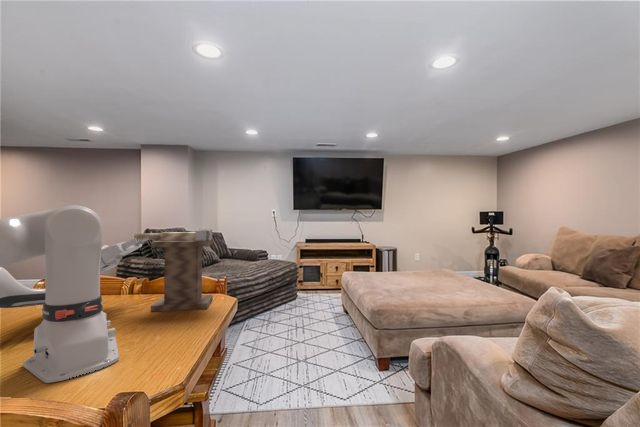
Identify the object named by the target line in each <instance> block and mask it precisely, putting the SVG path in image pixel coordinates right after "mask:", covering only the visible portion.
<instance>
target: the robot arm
mask: <svg viewBox="0 0 640 427" xmlns="http://www.w3.org/2000/svg"><path fill="white" fill-rule="evenodd" d="M102 240H103V222H102V219H101V217H100V215H99V214H98V213H97V212H96V211H94V210H93V209H91V208H89V207H86V206H84V205H76V204H73V205H66V206H61V207H57V208H51V209H46V210H41V211H40V210H39V211H35V212H30V213H25V214H19V215H14V216H7V217H2V218H0V309H12V308H13V309H14V308H25V307H26V308H27V307H34V306H42V309H41V310H42V319H43V320H42V321H41V323H40V324H38V325H37V326H36V327H35V328H34V331H33V332H34V333H33V349H32V350H33V351H32V356H31V357H28V358H26V359H24V361H22V367H23V368H24V369H26V370H27V371H29V373H31V374H33V376H35V377H37V379H38V380H41V381H42V383H43V382H44V383H45V384H50V383H56V382H61V381H65V380H69V378H70V379H73V378H72V377H74V378H76V376H77V377H80V376H79V375H81V376H83V375H82V374H84V375H86V373H87V374H89V372H90V373H93V372H95V370H96V371H98V370H101V369H103V367H104V368H106V367H108V366H110V365H114V364H115V363H116V362H118V361H119V360H120V355H119V350H118V344H117V339H116V328H115V327H112V328H108V327H110V326H111V324H112V322H111V320H107V313H106V312H104V311H103V309H104V308H103V303H104V302H103V298H102V295H101V273H105V272H107V271H109V270H111V269H113V268H115V267H116V266H118V265H120V263H121V260H122V259H123V257H124V256H126V255H129V254H130V253H132V252H134V251H136V250H139V249H140V248H142V247H143V244H144V243H145V242H147V241H148V240H138V239H137V238H133V239H130V240H127V241H123V242H119V243H114V244H112V245H107V244H105V245H103V246H102V243H103V242H102ZM43 255H44V266H45V267H44V268H45V283H44V284H45V285H44V286H45V288H32V287H31V288H30V287H28V286H26V285H24V284H22V283H21V282H20V281H18V279H16V278H15V277H14V276H12V274H11V273H10V272H9V271H8V270H7V269H6V268H4V267H7V266H11V265H15V264H18V263H23V262H25V261H29V260H32V259H36V258H38V257H40V256H43Z"/></svg>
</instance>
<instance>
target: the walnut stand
mask: <svg viewBox="0 0 640 427" xmlns="http://www.w3.org/2000/svg"><path fill="white" fill-rule="evenodd" d="M213 243H214V238H212V239H211V240H209V241H195V240H192V241H161V240H152V241H151V243H150V244H151V245H150V246H151V248H164V273H163V274H164V278H163V279H164V281H163V282H164V283H163V284H164V285H163V286H164V289H163V290H164V291H163V292H164V296H161V297H160V298H158V299H157V301H155V302H154V303H153V304H151V305H150V312H165V311H166V312H167V311H182V310H183V311H185V310H187V311H188V310H205V308H207V309H208V308H209V306H210V305H211V303H212V301H213V300H212V299H213V298H214V296H213V294H205V295H204V294H203V293H202V292H203V291H202V290H203V247H206V248H207V247H209V246H211V245H213ZM202 294H203V295H202ZM211 300H212V301H211ZM210 302H211V303H210ZM209 304H210V305H209Z"/></svg>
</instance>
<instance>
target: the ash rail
mask: <svg viewBox="0 0 640 427" xmlns="http://www.w3.org/2000/svg"><path fill="white" fill-rule="evenodd" d="M133 237H134V238H137V239H138V240H147V241H151V240H152V241H156V240H161V241H192V240H195V231H194V232H193V231H191V232H189V231H188V232H187V231H185V232H184V231H183V232H182V231H181V232H175V231H171V232H170V231H169V232H166V231H165V232H159V233H158V232H154V233H151V232H150V233H149V232H148V233H139V232H138V233H135V234H134V236H133ZM134 238H133V239H134Z"/></svg>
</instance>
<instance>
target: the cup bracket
mask: <svg viewBox="0 0 640 427" xmlns="http://www.w3.org/2000/svg"><path fill="white" fill-rule="evenodd" d="M194 232H195V241H209V240H211V239H213V229H198V230H197V229H196V230H195V231H194Z"/></svg>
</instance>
